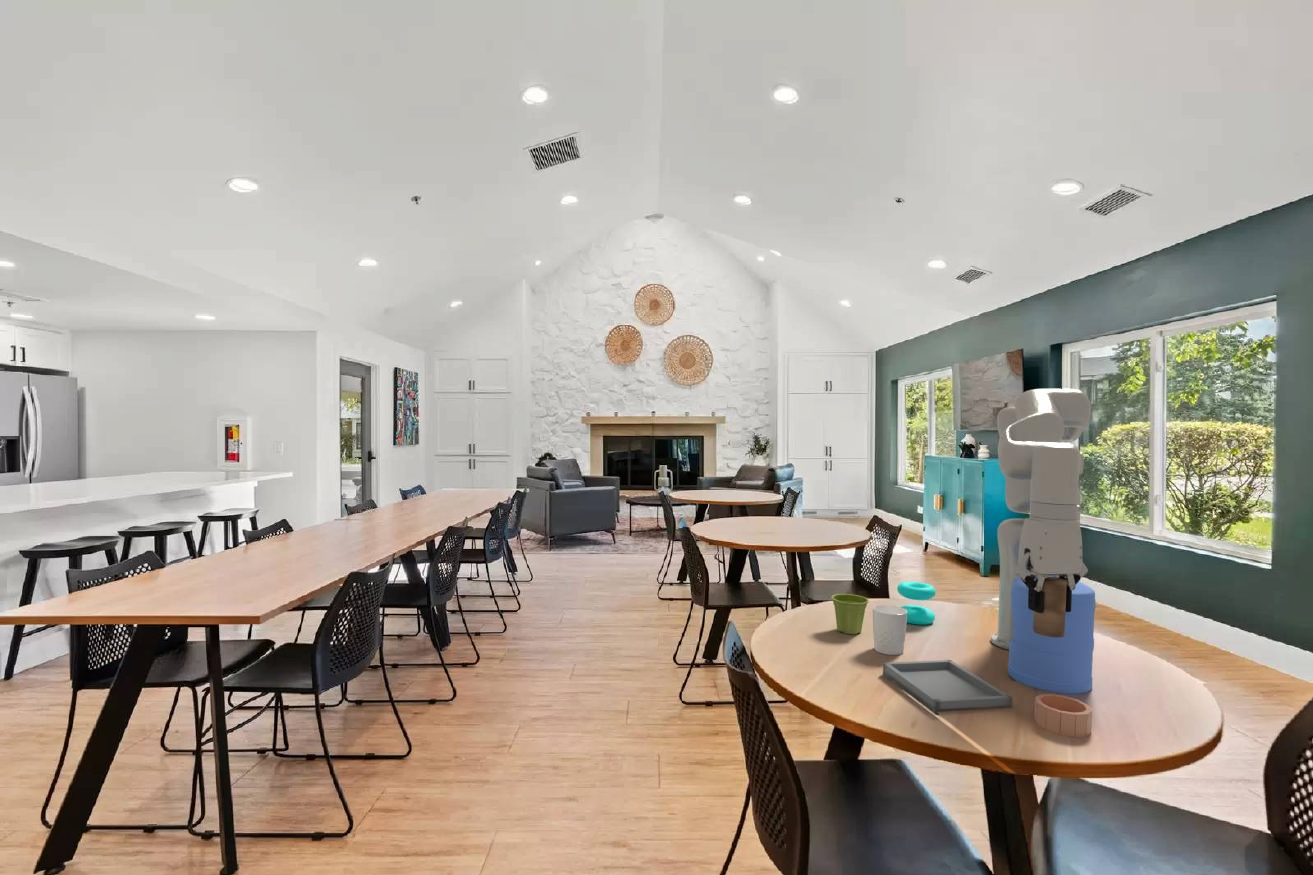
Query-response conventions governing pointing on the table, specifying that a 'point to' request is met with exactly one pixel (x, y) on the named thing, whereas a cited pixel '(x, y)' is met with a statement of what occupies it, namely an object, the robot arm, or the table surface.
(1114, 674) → the table surface
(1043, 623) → the walnut cylinder
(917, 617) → the donuts
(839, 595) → the plant pot
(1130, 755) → the table surface
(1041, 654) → the water jug
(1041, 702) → the terracotta cup
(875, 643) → the white cup
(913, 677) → the slate tray
